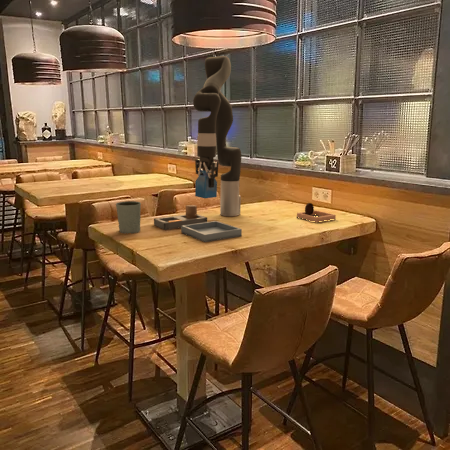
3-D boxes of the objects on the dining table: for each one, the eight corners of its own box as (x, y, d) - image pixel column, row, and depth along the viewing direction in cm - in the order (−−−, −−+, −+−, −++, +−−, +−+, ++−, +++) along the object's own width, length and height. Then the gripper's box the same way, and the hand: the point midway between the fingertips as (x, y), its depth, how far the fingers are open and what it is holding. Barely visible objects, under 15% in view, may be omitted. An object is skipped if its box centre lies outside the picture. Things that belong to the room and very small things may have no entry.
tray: (216, 227, 203) (216, 220, 203) (241, 236, 189) (241, 228, 189) (181, 232, 193) (181, 225, 193) (204, 242, 179) (204, 234, 178)
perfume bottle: (206, 195, 193) (207, 166, 190) (216, 197, 189) (217, 167, 186) (195, 196, 189) (195, 166, 186) (205, 198, 184) (205, 168, 182)
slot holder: (194, 219, 218) (194, 212, 217) (207, 223, 210) (207, 216, 209) (153, 225, 206) (153, 217, 205) (165, 229, 197) (165, 222, 197)
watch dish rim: (315, 215, 233) (315, 210, 232) (335, 219, 222) (335, 214, 222) (296, 218, 225) (297, 213, 225) (316, 223, 215) (316, 217, 214)
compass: (316, 220, 221) (317, 205, 219) (303, 217, 227) (304, 203, 225) (326, 218, 226) (327, 203, 224) (313, 215, 232) (314, 201, 230)
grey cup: (141, 233, 191) (140, 205, 188) (116, 234, 189) (115, 205, 186) (141, 228, 200) (140, 200, 198) (117, 228, 199) (116, 201, 196)
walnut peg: (193, 221, 214) (193, 204, 212) (198, 223, 210) (198, 206, 209) (183, 222, 211) (183, 205, 210) (189, 224, 207) (189, 207, 206)
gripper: (224, 145, 180) (223, 188, 184) (205, 143, 192) (204, 183, 196) (208, 146, 176) (208, 189, 180) (189, 144, 188) (189, 184, 192)
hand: (206, 186), depth 188 cm, fingers closed on perfume bottle, 6 cm apart
